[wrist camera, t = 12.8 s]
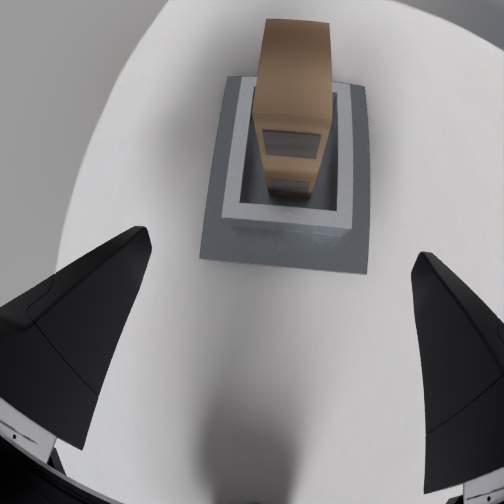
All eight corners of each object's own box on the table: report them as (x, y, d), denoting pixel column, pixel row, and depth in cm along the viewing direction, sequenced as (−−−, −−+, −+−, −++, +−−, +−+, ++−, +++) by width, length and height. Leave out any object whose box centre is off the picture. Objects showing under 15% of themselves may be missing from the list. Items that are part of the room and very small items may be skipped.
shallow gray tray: (363, 274, 21) (379, 273, 17) (203, 259, 22) (185, 254, 18) (362, 92, 22) (372, 65, 18) (229, 83, 24) (221, 55, 20)
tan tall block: (310, 200, 21) (332, 121, 10) (268, 196, 21) (251, 115, 10) (314, 126, 21) (329, 23, 10) (276, 123, 22) (266, 18, 11)
